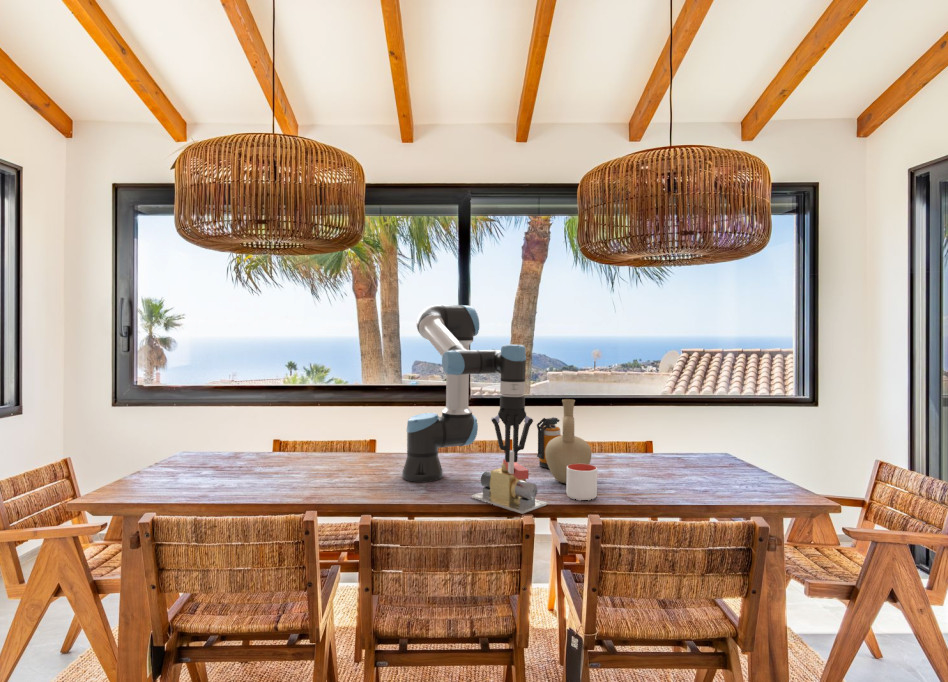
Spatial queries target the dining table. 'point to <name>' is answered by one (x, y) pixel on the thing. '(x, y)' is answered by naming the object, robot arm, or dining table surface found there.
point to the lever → (516, 470)
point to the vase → (566, 447)
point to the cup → (581, 481)
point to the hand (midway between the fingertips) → (510, 472)
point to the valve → (508, 492)
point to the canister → (546, 437)
